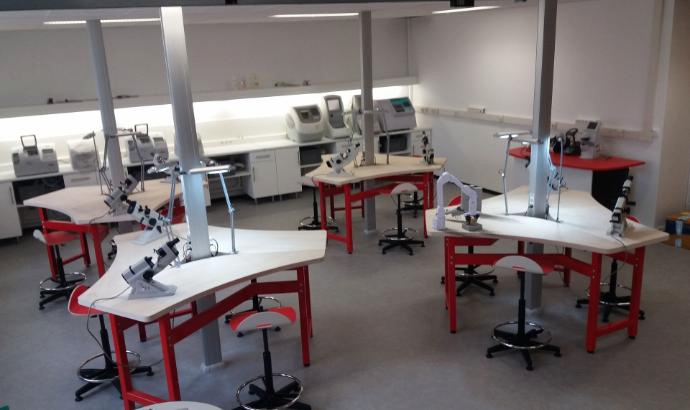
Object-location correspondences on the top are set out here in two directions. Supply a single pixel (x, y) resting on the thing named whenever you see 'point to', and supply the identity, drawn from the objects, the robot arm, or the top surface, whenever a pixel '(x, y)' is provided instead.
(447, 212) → the gun
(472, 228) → the tray
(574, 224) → the top surface
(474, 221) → the walnut block
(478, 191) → the grey upright panel
